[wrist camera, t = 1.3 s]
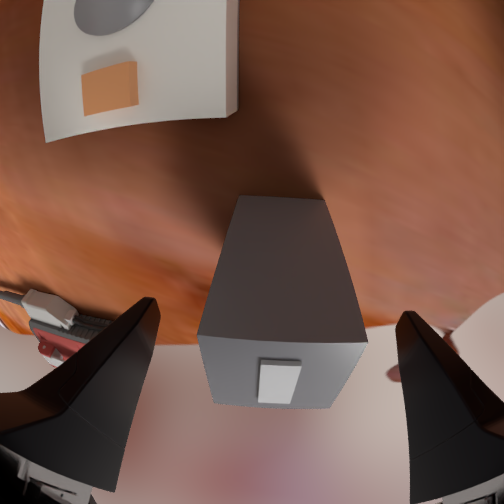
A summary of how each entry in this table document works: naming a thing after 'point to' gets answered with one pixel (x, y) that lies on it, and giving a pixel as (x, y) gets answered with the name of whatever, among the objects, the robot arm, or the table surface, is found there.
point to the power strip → (136, 63)
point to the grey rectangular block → (280, 309)
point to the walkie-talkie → (56, 324)
